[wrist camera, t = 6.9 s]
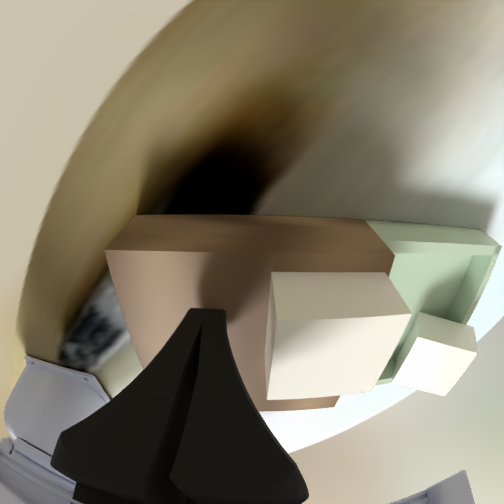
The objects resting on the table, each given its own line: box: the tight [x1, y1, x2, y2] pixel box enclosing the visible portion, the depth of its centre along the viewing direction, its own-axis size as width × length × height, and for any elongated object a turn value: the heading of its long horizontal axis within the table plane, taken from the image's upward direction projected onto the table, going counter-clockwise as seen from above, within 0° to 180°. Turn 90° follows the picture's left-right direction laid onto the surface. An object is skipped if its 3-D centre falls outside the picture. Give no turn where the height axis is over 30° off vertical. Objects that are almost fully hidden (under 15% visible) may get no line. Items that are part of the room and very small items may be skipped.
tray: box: [365, 220, 502, 385], centre depth 14 cm, size 9×11×2 cm
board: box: [105, 215, 395, 411], centre depth 14 cm, size 11×11×4 cm
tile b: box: [265, 272, 412, 400], centre depth 10 cm, size 4×4×2 cm
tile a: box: [391, 312, 478, 396], centre depth 14 cm, size 4×4×2 cm
